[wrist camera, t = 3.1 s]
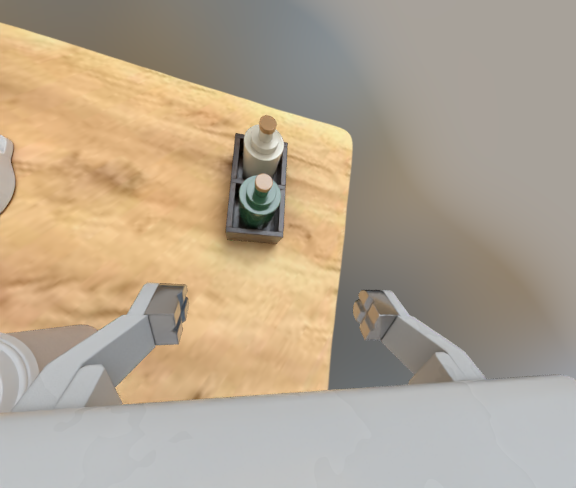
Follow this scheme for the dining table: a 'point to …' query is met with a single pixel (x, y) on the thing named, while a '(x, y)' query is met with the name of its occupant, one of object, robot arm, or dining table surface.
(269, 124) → the cream bottle
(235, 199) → the caddy
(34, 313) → the dining table surface
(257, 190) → the green bottle
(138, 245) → the dining table surface
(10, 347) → the coffee cup
